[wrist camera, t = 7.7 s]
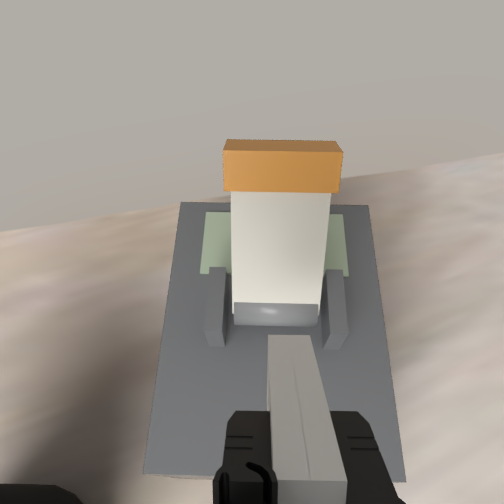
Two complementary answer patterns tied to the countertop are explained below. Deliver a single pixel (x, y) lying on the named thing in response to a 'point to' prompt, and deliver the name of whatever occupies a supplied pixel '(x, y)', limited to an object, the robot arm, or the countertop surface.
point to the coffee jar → (35, 494)
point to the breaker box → (263, 344)
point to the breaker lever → (279, 227)
